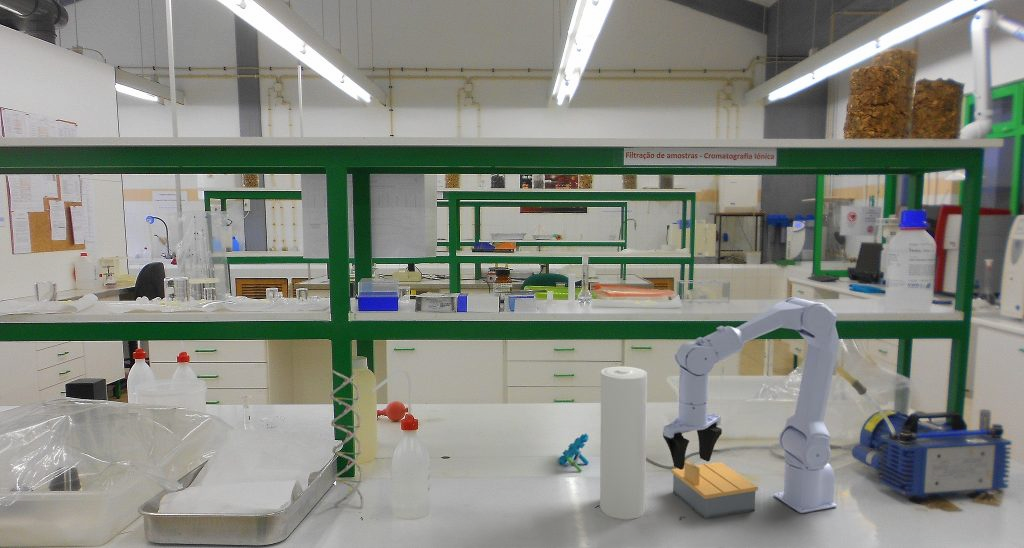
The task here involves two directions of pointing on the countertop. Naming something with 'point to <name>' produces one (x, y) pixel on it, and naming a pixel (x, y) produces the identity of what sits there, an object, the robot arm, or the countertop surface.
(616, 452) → the cylinder container
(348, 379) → the dna model
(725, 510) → the tub
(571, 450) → the blue knobbly piece
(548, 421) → the countertop surface
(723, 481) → the lid
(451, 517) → the countertop surface
